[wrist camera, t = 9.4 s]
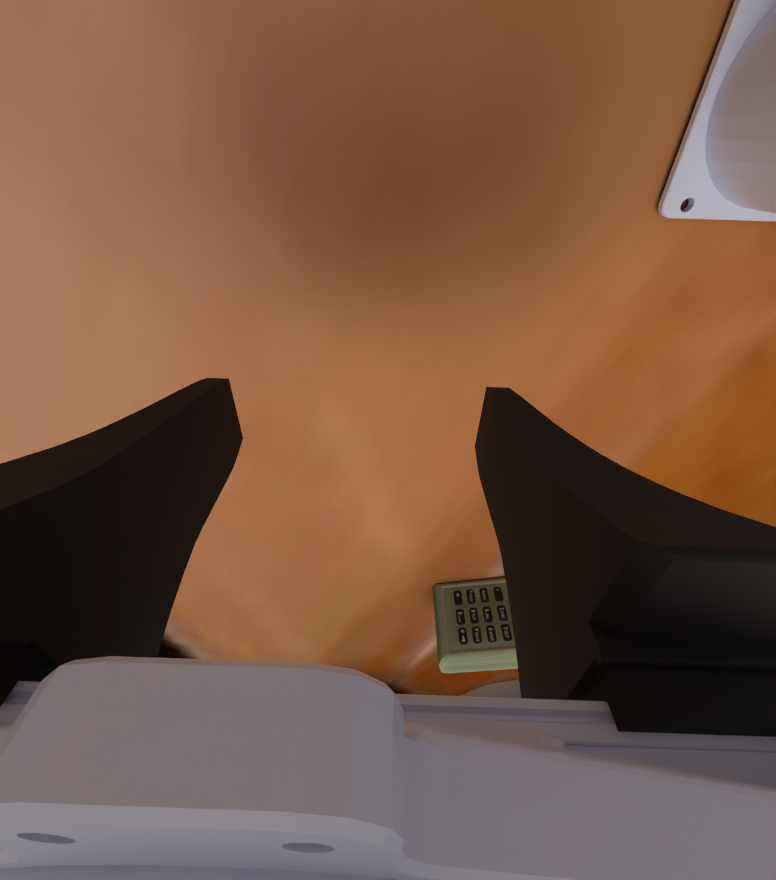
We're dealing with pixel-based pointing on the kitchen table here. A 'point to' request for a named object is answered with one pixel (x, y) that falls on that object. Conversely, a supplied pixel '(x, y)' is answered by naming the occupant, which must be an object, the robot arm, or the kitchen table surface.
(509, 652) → the handheld radio
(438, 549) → the kitchen table surface
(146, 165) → the kitchen table surface
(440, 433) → the kitchen table surface
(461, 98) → the kitchen table surface
